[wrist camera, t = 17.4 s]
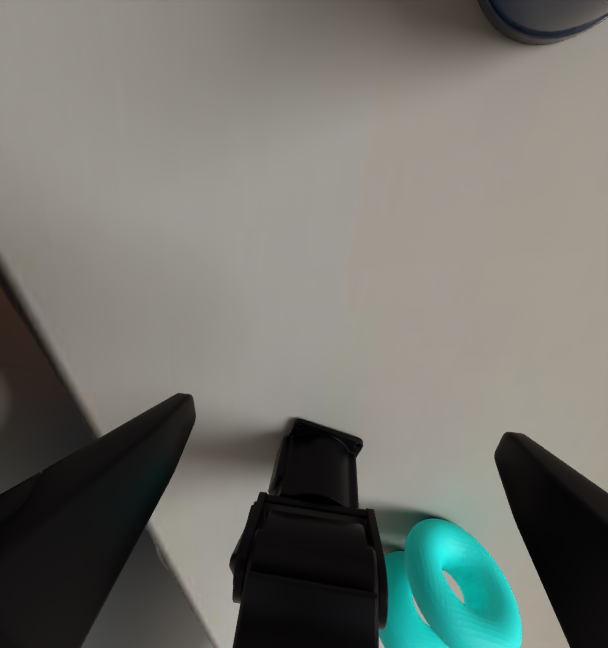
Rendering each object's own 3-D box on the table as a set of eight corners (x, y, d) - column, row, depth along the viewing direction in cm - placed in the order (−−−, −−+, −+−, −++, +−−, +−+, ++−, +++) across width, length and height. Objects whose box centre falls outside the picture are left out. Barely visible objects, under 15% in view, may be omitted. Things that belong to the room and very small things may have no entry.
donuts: (492, 530, 29) (559, 681, 20) (439, 573, 34) (474, 712, 25) (404, 499, 29) (433, 639, 20) (361, 546, 33) (369, 678, 24)
